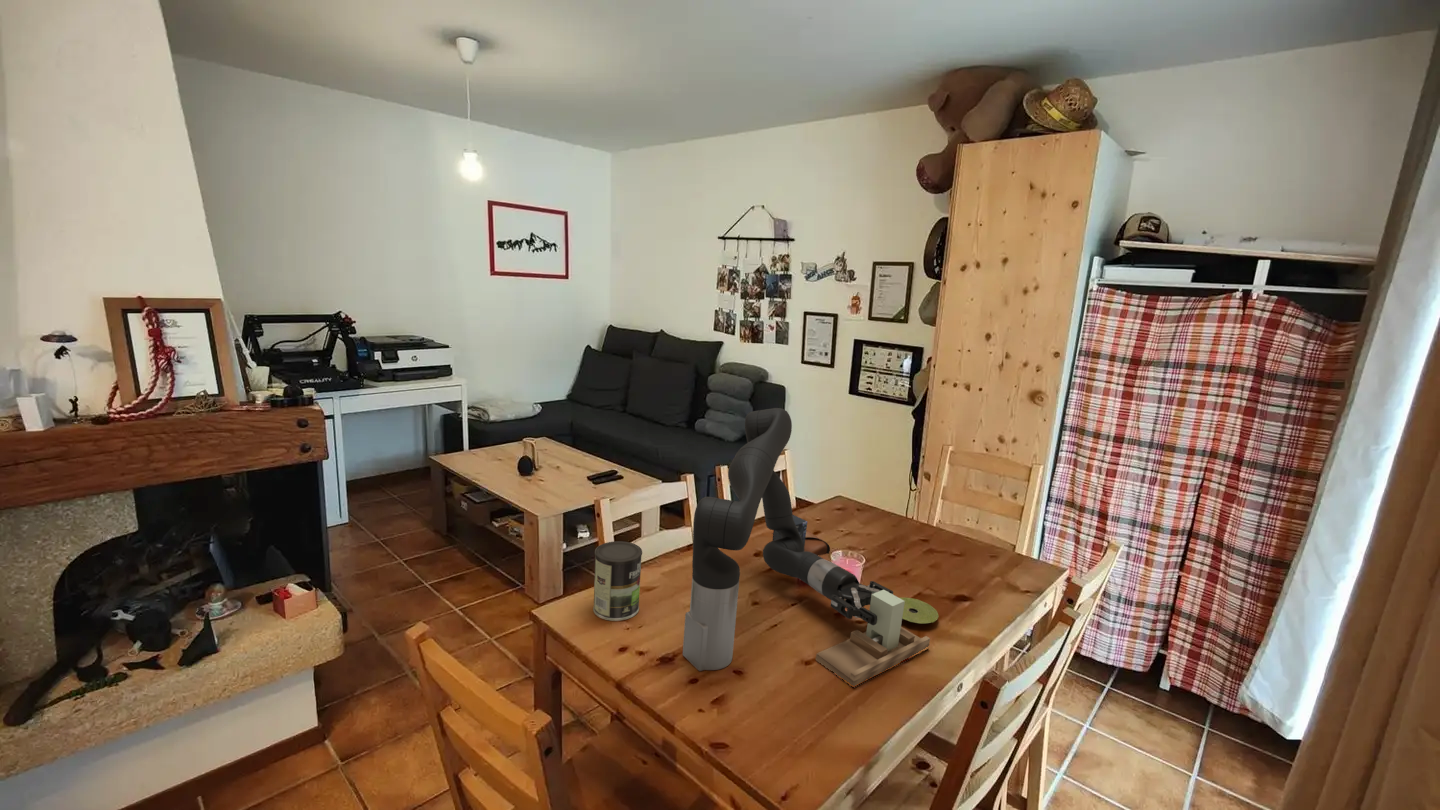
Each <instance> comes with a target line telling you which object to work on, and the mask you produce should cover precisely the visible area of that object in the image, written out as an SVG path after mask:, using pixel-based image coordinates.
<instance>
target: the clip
mask: <svg viewBox="0 0 1440 810" xmlns="http://www.w3.org/2000/svg"><path fill="white" fill-rule="evenodd" d="M900 598H901V597H898V596H897V595H894V593H893V594H891V593H889V592H887V591H885V590H881V591H879V592H876V593H874V594H872V595H871V602H870V605H869V609H868V610H869V611H871V612H872V613H874V614H876V615H877V624H876V625H871V624H870V623H867V625H866V631H865V632H866V636H868V637H869V638H871V639H874V638H876V637H878V636H880V635H882V636H883V641H882V646H883V647H885V648H886V649H888V650H887V652H888V651H890V650H892V649H894V648H896V647H898V643H899V636H900V630H901V627H902V621H903V618H902V616H903V610H904V603H905V601H904V600H902V599H900Z"/></svg>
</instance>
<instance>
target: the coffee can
mask: <svg viewBox="0 0 1440 810" xmlns="http://www.w3.org/2000/svg"><path fill="white" fill-rule="evenodd" d="M594 556H595V557H594V559H595V560H594V585H593V586H594V587H593V588H594V590H593V592H594V593H593V608H592V609H593V613H594V615H596V617H597V618H600V619H602V620H605V621H612V622H619V621H621V622H623V621H626V620H629V619H632V618H634V617H635V616H636V615H637V614H638V613H639V611H640V589H641V572H642V571H641V570H642V556H643V550H642V548H641V547H640V545H637V544H635V543H633V542H629V541H624V540H623V541H622V540H619V541H618V540H617V541H608V542H605V543H602V544H599V545H598V546H597V547H596V548H595V550H594Z"/></svg>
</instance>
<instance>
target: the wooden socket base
mask: <svg viewBox="0 0 1440 810" xmlns="http://www.w3.org/2000/svg"><path fill="white" fill-rule="evenodd" d="M882 641H883V636H882V635H880V636H878V637H876V638H874V639H871V638H869V637H868V636H866V631H865V632H862V631H860V630H859V629H855V630H853V631H851V632H850V637H849V638H848V639H846V640H844V641H842V642H840V643H837V644H835V645H833V646H830V647H828V648H826V649H823V650H821V651H819V652H816V654H815V661H816V662H817V663H819V664H820V663H821V665H822V666H823V665H824V666H825V667H824V666H823V667H824V668H826V669H827V668H828V669H829V670H828V669H827V670H828V671H830V670H831V671H833V672H834V673H836V674H837V675H838V676H840V677H841V678H843V679H844V680H846V681H847V682H849V683H850V684H851V685H853V686H855V685H857V684H859V683H861V682H863V681H865V680H866V679H869V678H870V677H873V676H874V675H877V674H879V673H880V672H883V671H885V670H886V669H888V668H890V667H892V666H894V665H896V664H898V663H900V662H901V661H903V660H905V659H907V658H909V657H910V656H912V655H914V654H916V653H918V652H919V651H921V650H923V649H925V648H926V647H928V646H929V647H930V641H931V638H930V637H929V636H927V635H924V636H923V637H919V636H918V635H916V634H914V633H913V632H912V631H909V630H908V629H907V628H905V627H903V626H901V630H900V636H899V643H898V647H896V648H894V649H892V650H890V651H888V652H887V650H888V649H886V648H885V647H883V646H882ZM831 671H830V672H831ZM834 673H833V674H834ZM838 676H837V677H838Z"/></svg>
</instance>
